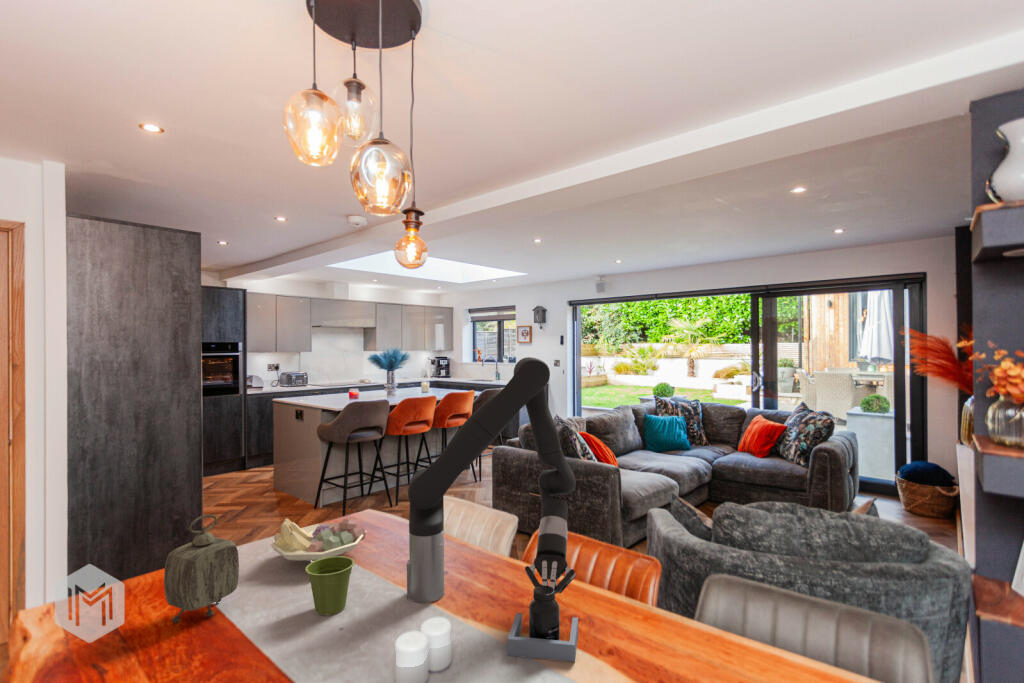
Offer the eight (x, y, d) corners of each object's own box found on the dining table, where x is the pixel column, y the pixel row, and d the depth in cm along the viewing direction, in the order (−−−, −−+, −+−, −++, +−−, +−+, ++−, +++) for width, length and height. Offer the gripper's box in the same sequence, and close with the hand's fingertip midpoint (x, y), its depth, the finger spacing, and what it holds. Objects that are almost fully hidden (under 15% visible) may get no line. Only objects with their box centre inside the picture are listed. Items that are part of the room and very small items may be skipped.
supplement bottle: (556, 655, 109) (555, 599, 110) (525, 650, 111) (525, 595, 112) (562, 638, 116) (561, 584, 116) (533, 633, 118) (532, 581, 118)
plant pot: (364, 602, 134) (364, 559, 134) (331, 625, 123) (330, 578, 123) (330, 594, 139) (329, 552, 139) (295, 615, 128) (294, 570, 128)
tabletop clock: (220, 598, 137) (220, 505, 138) (243, 605, 133) (242, 509, 134) (164, 625, 124) (163, 522, 125) (186, 633, 120) (186, 527, 121)
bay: (507, 655, 110) (507, 638, 110) (517, 627, 121) (516, 612, 121) (574, 662, 107) (574, 645, 107) (578, 632, 118) (578, 617, 118)
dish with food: (252, 562, 159) (254, 517, 159) (330, 535, 182) (331, 496, 182) (305, 590, 143) (307, 540, 143) (383, 557, 166) (385, 514, 166)
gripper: (525, 530, 131) (517, 601, 119) (577, 533, 128) (574, 606, 116) (529, 543, 136) (521, 613, 124) (579, 546, 133) (576, 617, 121)
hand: (547, 609), depth 120 cm, fingers closed
